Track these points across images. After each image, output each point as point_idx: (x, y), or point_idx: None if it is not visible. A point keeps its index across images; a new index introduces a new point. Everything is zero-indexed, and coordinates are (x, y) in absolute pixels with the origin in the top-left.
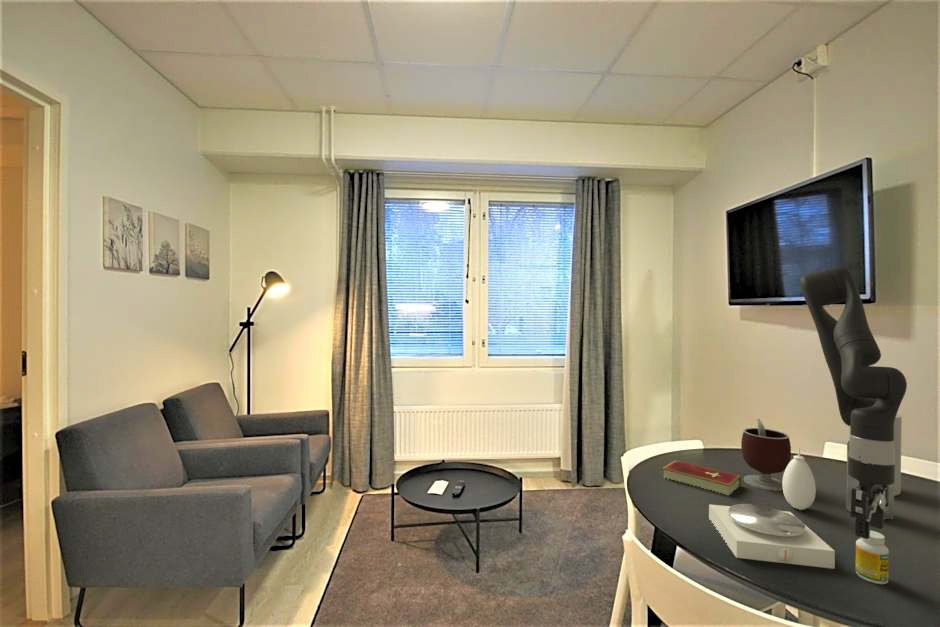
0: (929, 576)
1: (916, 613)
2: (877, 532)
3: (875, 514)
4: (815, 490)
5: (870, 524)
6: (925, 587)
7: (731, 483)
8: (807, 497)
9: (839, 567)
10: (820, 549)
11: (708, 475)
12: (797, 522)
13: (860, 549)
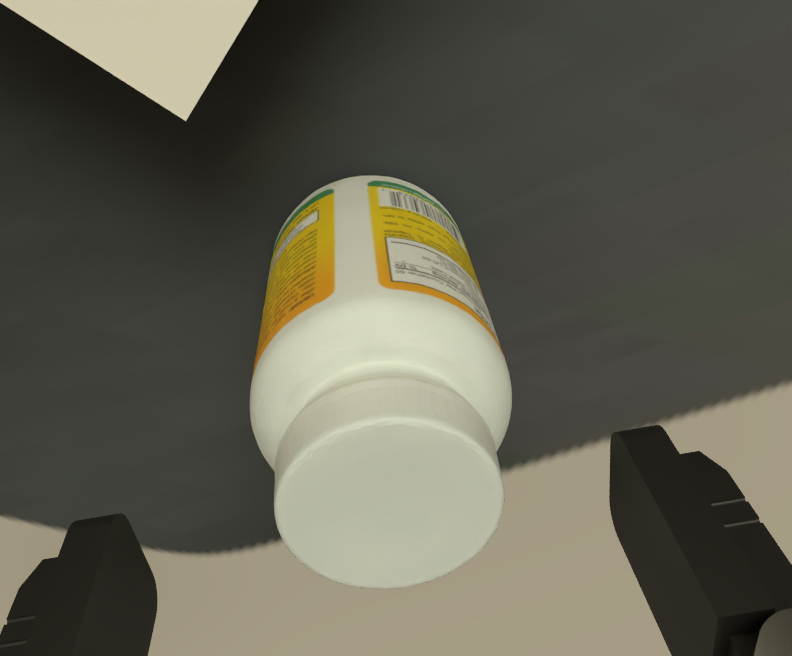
0: (749, 385)
1: (185, 523)
2: (492, 514)
3: (681, 615)
4: None
5: (616, 442)
6: (559, 431)
7: None
8: None
9: (284, 77)
10: (48, 29)
11: None
12: None
13: (256, 361)
